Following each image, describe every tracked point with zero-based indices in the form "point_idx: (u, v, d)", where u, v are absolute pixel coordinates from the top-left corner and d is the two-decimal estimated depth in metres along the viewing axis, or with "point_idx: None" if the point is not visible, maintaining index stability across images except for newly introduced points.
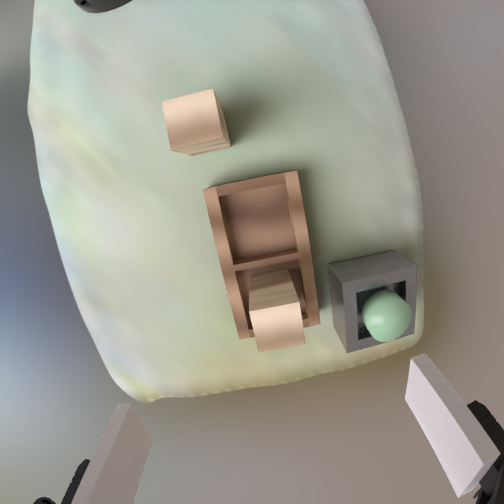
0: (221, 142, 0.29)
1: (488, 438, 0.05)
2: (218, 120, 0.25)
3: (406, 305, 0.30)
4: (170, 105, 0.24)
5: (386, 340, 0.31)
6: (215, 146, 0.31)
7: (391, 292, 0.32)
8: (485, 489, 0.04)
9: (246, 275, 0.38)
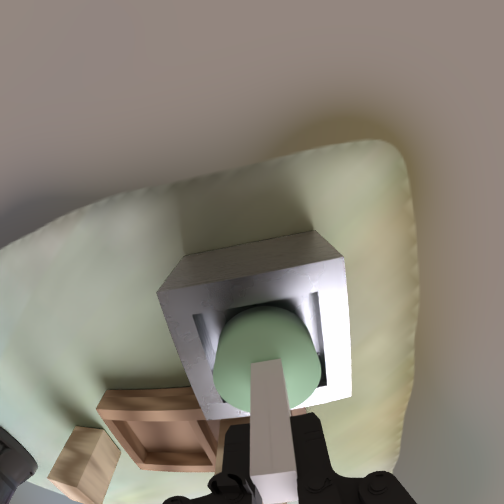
0: (89, 468, 0.22)
1: (291, 451, 0.08)
2: (66, 484, 0.18)
3: (228, 353, 0.14)
4: (70, 497, 0.19)
5: (316, 377, 0.14)
6: (99, 458, 0.24)
7: (217, 348, 0.16)
8: None
9: None
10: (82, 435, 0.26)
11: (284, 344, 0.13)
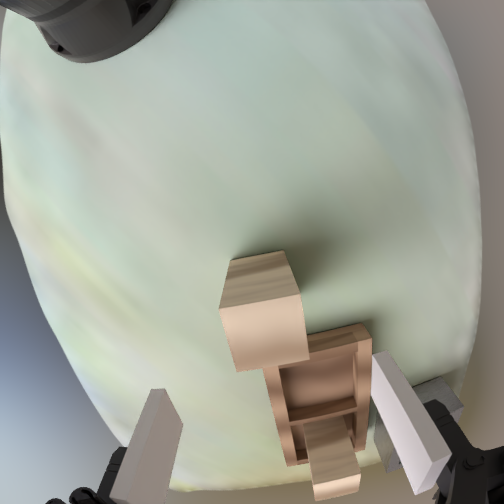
0: None
1: (440, 437, 0.06)
2: (305, 339, 0.18)
3: None
4: (232, 315, 0.18)
5: None
6: None
7: None
8: (441, 488, 0.06)
9: None
10: None
11: None
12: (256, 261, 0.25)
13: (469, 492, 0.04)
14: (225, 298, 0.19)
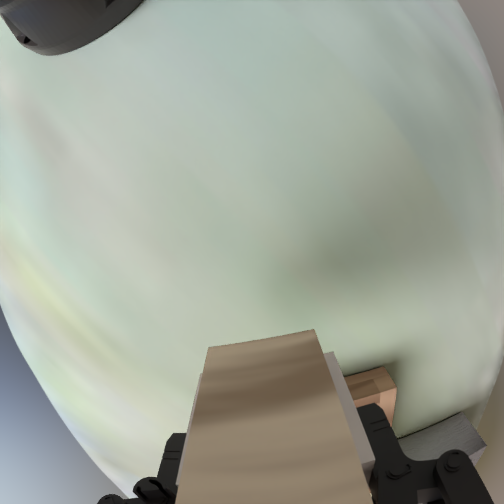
0: None
1: (366, 441, 0.08)
2: None
3: None
4: None
5: None
6: None
7: None
8: (372, 493, 0.07)
9: None
10: None
11: None
12: (261, 364, 0.11)
13: (397, 502, 0.05)
14: None
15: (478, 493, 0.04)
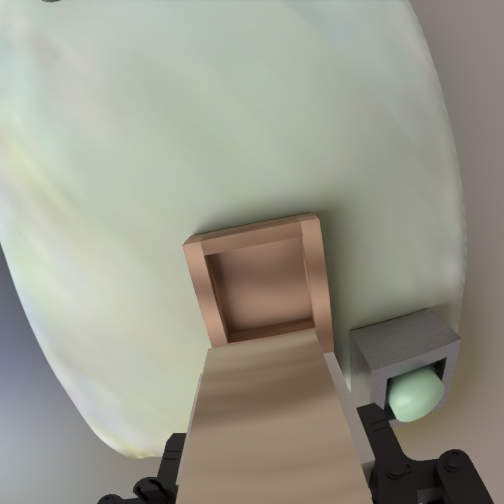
0: None
1: (366, 441, 0.08)
2: None
3: (440, 384, 0.21)
4: None
5: (411, 419, 0.22)
6: None
7: (424, 367, 0.23)
8: (372, 493, 0.07)
9: None
10: None
11: (435, 403, 0.22)
12: (261, 366, 0.11)
13: (397, 502, 0.05)
14: None
15: (478, 493, 0.04)
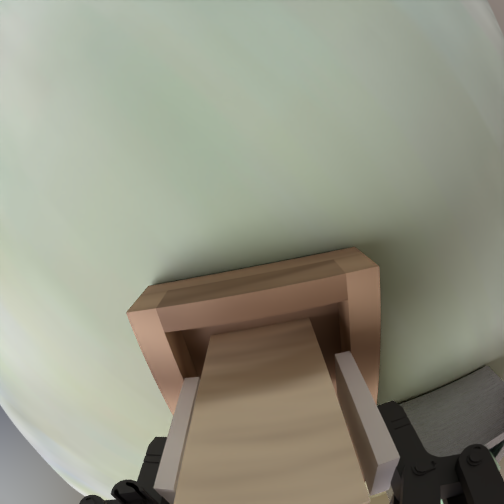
0: None
1: (390, 439, 0.07)
2: None
3: (498, 468, 0.10)
4: None
5: None
6: None
7: None
8: (394, 491, 0.06)
9: None
10: None
11: None
12: (260, 349, 0.12)
13: (421, 498, 0.05)
14: (188, 481, 0.06)
15: (497, 488, 0.03)
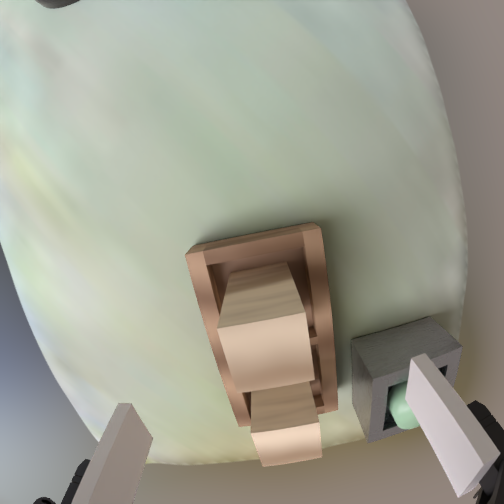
0: None
1: (488, 438, 0.05)
2: (310, 359, 0.17)
3: None
4: (232, 335, 0.16)
5: (412, 427, 0.22)
6: None
7: None
8: (485, 489, 0.04)
9: None
10: None
11: None
12: (258, 274, 0.24)
13: None
14: (224, 316, 0.17)
15: None
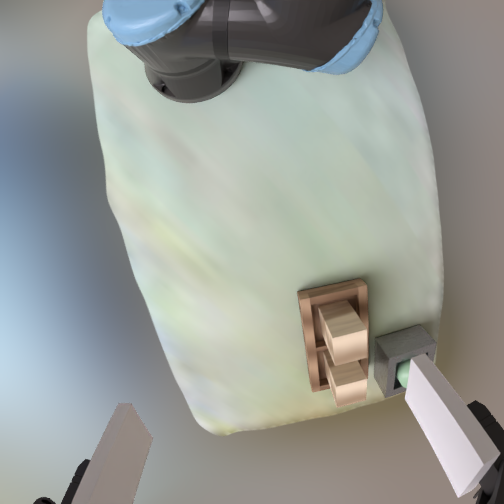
0: None
1: (488, 438, 0.05)
2: (366, 348, 0.38)
3: None
4: (338, 340, 0.37)
5: None
6: None
7: None
8: (485, 489, 0.04)
9: (321, 350, 0.49)
10: None
11: None
12: (335, 308, 0.45)
13: None
14: (332, 332, 0.39)
15: None
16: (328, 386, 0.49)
